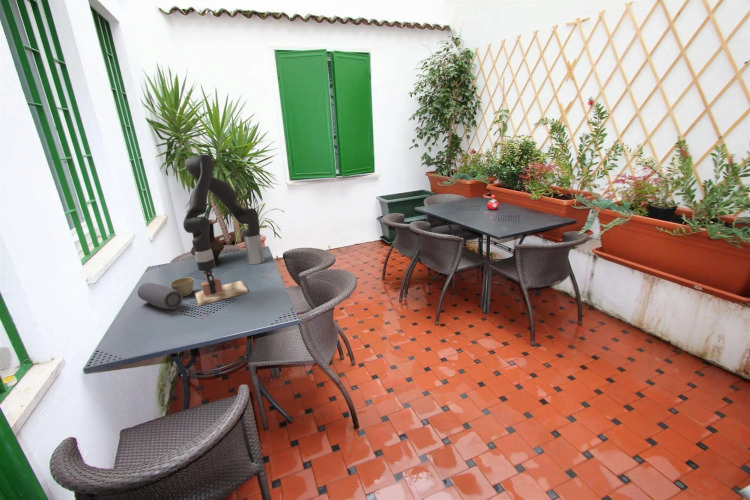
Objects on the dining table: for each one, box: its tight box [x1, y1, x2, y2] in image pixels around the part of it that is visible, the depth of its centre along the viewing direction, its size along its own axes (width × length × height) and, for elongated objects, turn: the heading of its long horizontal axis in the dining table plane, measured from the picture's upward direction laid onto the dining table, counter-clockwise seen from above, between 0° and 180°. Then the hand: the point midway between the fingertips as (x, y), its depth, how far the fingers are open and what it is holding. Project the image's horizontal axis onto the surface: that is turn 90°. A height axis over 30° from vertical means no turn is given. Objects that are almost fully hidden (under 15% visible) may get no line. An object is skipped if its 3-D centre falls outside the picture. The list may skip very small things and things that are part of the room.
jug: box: [190, 219, 225, 266], centre depth 204 cm, size 21×18×30 cm
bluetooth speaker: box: [137, 282, 184, 310], centre depth 157 cm, size 23×9×10 cm, turn 59°
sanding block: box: [200, 277, 223, 297], centre depth 164 cm, size 8×4×6 cm, turn 123°
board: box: [194, 280, 249, 306], centre depth 167 cm, size 22×14×2 cm, turn 123°
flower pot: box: [170, 276, 194, 297], centre depth 168 cm, size 10×10×7 cm
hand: (212, 291), depth 164 cm, fingers closed on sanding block, 4 cm apart
